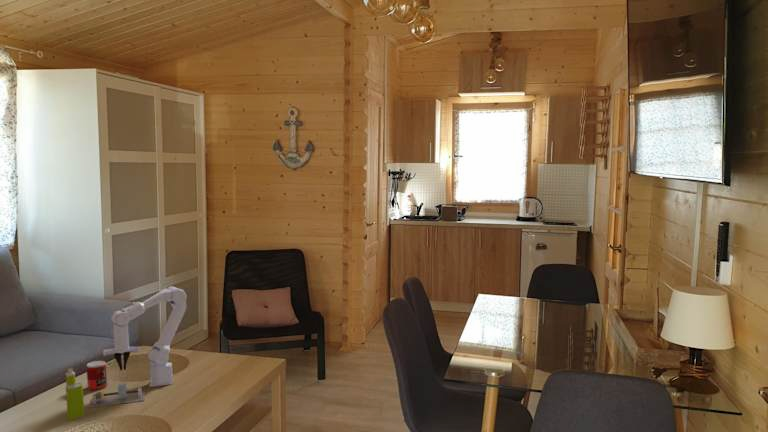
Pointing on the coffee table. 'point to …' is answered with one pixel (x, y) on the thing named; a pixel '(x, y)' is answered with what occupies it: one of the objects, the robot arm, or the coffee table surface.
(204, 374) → the coffee table surface
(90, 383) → the canned food
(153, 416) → the coffee table surface
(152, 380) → the robot arm
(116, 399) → the linear slide rail
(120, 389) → the sleeve
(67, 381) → the vape
